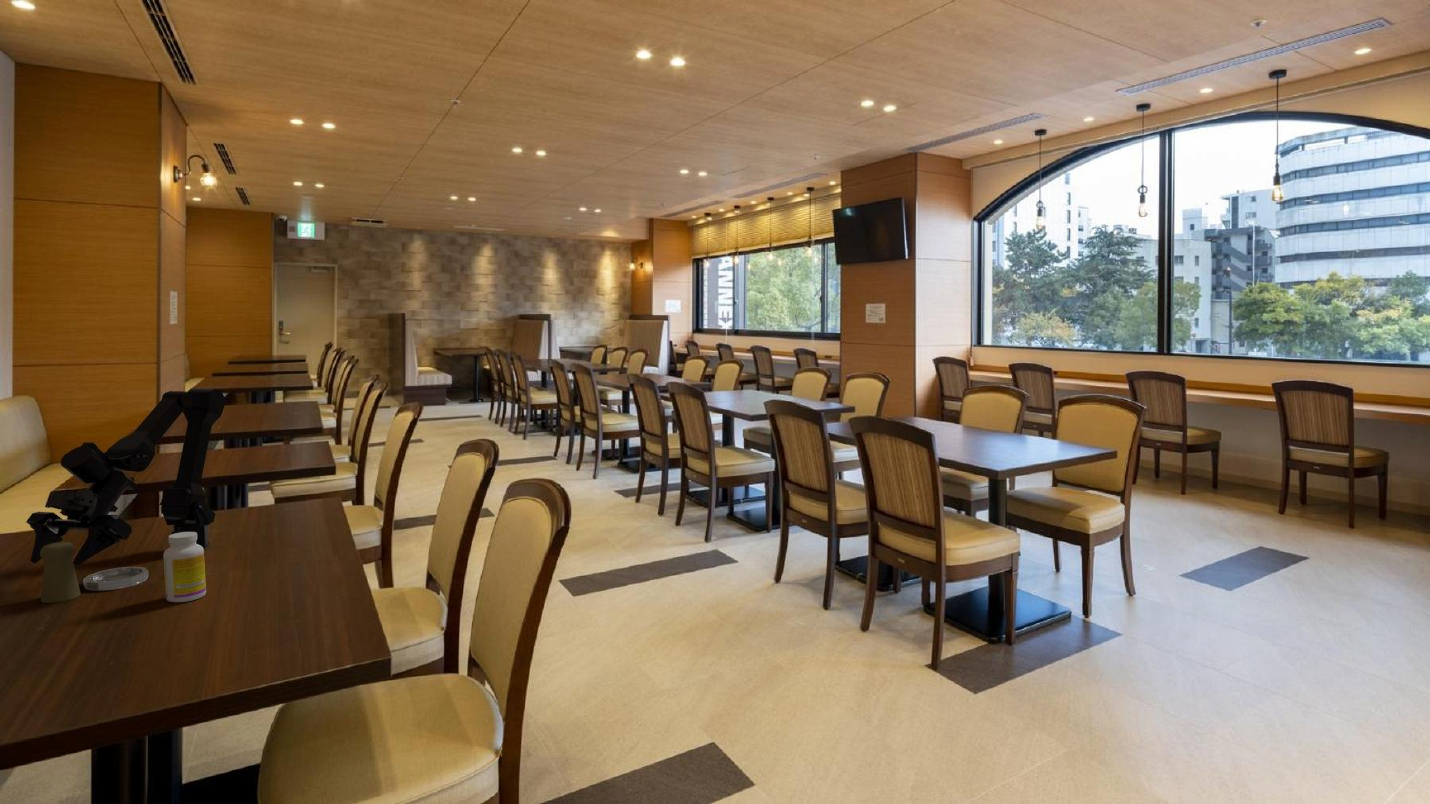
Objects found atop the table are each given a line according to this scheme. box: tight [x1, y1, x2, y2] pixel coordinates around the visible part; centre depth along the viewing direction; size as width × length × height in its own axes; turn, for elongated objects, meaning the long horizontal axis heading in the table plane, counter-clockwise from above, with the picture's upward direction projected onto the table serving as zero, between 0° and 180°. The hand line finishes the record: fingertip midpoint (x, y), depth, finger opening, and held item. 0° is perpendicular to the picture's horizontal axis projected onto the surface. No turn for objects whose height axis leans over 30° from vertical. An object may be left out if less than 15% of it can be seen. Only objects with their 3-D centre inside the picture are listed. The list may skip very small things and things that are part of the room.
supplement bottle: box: [162, 532, 207, 603], centre depth 151 cm, size 7×7×13 cm
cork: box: [40, 541, 81, 604], centre depth 151 cm, size 6×6×11 cm
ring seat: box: [82, 566, 149, 592], centre depth 160 cm, size 10×10×2 cm
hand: (53, 563), depth 150 cm, fingers open, 9 cm apart
